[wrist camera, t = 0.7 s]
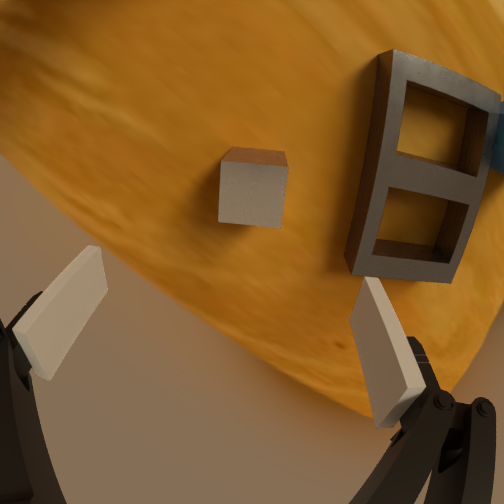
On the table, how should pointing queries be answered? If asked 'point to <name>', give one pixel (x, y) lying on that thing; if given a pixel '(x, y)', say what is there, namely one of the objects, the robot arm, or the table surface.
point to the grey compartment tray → (420, 172)
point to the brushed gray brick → (252, 187)
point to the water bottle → (499, 144)
